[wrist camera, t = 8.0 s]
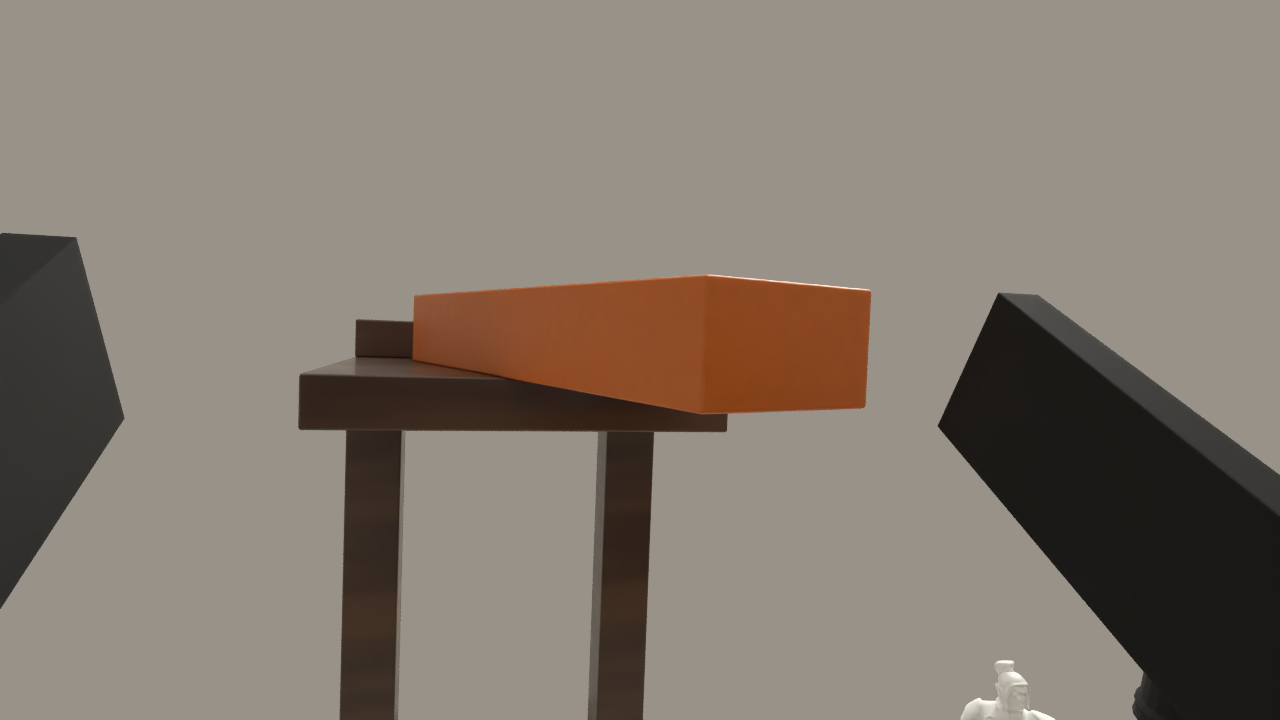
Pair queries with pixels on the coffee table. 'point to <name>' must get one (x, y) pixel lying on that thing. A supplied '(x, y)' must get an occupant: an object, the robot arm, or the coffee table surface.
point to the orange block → (662, 341)
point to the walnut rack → (469, 401)
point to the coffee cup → (1152, 703)
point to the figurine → (1005, 699)
